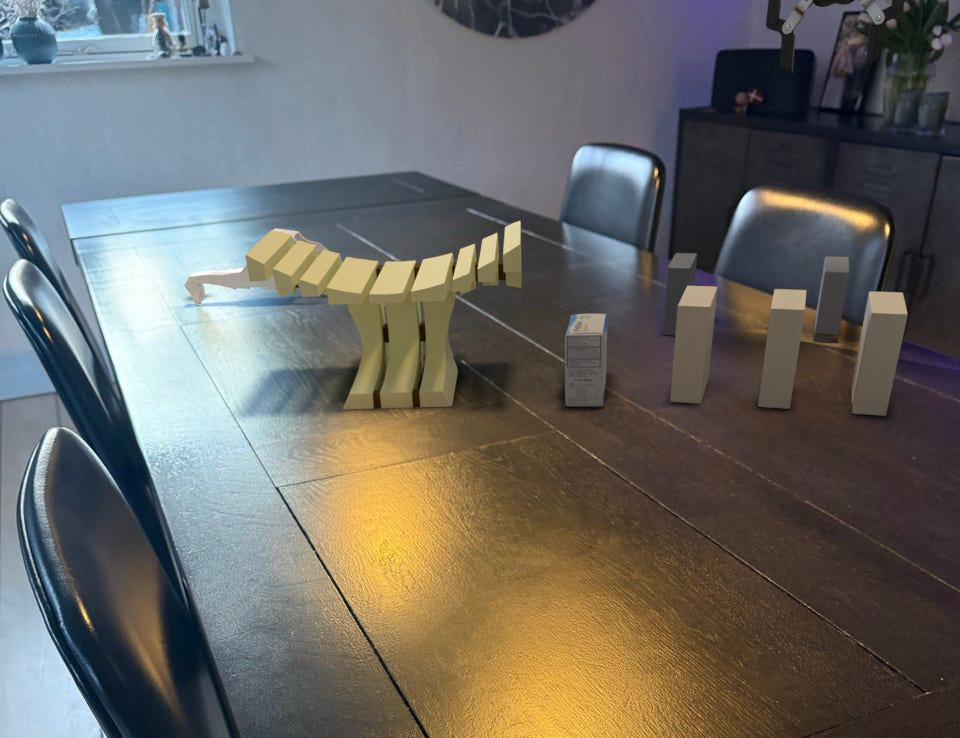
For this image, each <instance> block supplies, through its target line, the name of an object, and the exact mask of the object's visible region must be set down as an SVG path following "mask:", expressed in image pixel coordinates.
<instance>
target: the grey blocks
mask: <svg viewBox="0 0 960 738" xmlns="http://www.w3.org/2000/svg"><path fill="white" fill-rule="evenodd" d="M849 259H850V258H849V256H828V255H827V256H824V261H823V266H822V273H821V279H820V286H819V292H818V299H817V303H816V304H817V306H816V311H815V321H814V333H813V343H825V344H827V343H828V344H838V340H839V338H837V337H831V336H826V335H837V336H838V335H840V329H841V323H842V318H843V312H844V307H845V301H846V294H847V288H848V285H849V284H848V283H849V279H850V260H849ZM697 260H698V253H695V252H694V253H691V252H689V253H688V252H687V253H686V252H676V253H674V256H673V257H672V259H671V261H670V263H669V264H668V266H667V269H666V281H665V296H664V312H663V313H664V314H663V327H662V335H663V336H671V337H673V336H674V337H675V336H676V323H677V310H678V304H679V302H680V300H681V298H682V296H683V294H684V292H685V290H686V287H687V286H696V285H695V284H696V272H697Z"/></svg>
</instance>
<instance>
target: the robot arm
mask: <svg viewBox="0 0 960 738" xmlns="http://www.w3.org/2000/svg"><path fill="white" fill-rule="evenodd" d="M855 1H856V0H798V2H797V4H796V5H795V6H794V8H793V10H792V11H791V13H790V14H789V15H788V17H787V19H783V18H780V16H781V7H782V0H768V2H767V10H766V19H765V27H766V28H767V29H768V30H771V31H774V32H777V33H779V34H780V37H781V42H780V56H779V57H780V58H779V64H780V68H781V69H785V70H784V71H785V74H793V72H794V61H795V50H796V49H795V48H796V47H795V46H796V37H797V36H796V34H795V30H796V29H797V27H798V26H799V25H800V23H801V21H802V20H803V19H804V17H805V16H806V15H807V13H808V12H809V11H810V9H811V7H812V6H813V5H814V6H816V7H819V8H828V7H829V6H832V5H834V4H835V5H841V6H845V5H850V4H851V3H853V2H855ZM858 1H859V3H860V5H861V6H862V7H863V9H864V11H865V12H866V14H867V15H868V17H869V19H870V21H871V26H869V30H868V39H867V40H868V41H867V49H866V55H865V66H864V67H865V68H866V67H867V68H868V67H872V66H873V61H875V60H878V59H879V57H880V55H881V49H882V42H883V41H882V40H883V31H884V27H885V25H886V23H888V22H889V21H891V20H893V19H896V18H898V17H900V16H901V15H902V13H904V9H905V0H891V3H890V6H888V7H886V8H884V9H882V7H881V6H880V4H879V3H878V1H877V0H858Z"/></svg>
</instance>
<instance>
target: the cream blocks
mask: <svg viewBox="0 0 960 738" xmlns="http://www.w3.org/2000/svg"><path fill="white" fill-rule="evenodd" d="M718 287H719V286H712V285H710V286H709V285H695V286H687V287H686V290H685V292H684V294H683V296H682V298H681V300H680V302H679V304H678V310H677V323H676V336H674V337H675V338H674V352H673V364H672V367H673V368H672V376H671V377H672V378H671V389H670V390H671V391H670V403H682V404H683V403H684V404H696V405H697V404H698V405H701V404H702V401H703V398H704V395H705V391H706V388H707V385H708V382H709V377H710V370H711V369H710V368H711V357H712V349H713V338H714V329H715V328H714V327H715V319H716V308H717V307H716V306H717V297H718ZM908 315H909V314H908V310H907V304H906V300H905V296H904V292H903V291H902V292H899V291H897V292H896V291H872V290H871V291H868V296H867V300H866V306H865V311H864V318H863V322H862V327H861V333H860V339H859V343H858V349H857V353H856V358H855V365H854V370H853V374H852V380H851V385H850V391H851V392H850V393H851V396H850V397H851V413H852V414H853V415H865V416H866V415H867V416H881V417H882V416H883V417H887V412H888V407H889V403H890V398H891V394H892V389H893V385H894V380H895V375H896V371H897V367H898V362H899V358H900V352H901V347H902V343H903V338H904V333H905V330H906V324H907V321H908V320H907V319H908Z"/></svg>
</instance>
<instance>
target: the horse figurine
mask: <svg viewBox="0 0 960 738" xmlns="http://www.w3.org/2000/svg"><path fill="white" fill-rule="evenodd" d="M271 231H279V232H282V233H286V234H289V235H291V236H292V238H293V241H294V245H295V244H296V243H297V242H298V240H299V241H303V242H306V243H310V244H313V245H316V246H317V250H318V255H319V254H320V253H321V252H322V251H323V250H327V251H330V250H329V249H328V248H326V247H325V246H324V245H323V244H322V243H320V242H319V241H314V240H313V241H312V240H309V239H307V238H305V237H304V236H303V235H302V233H301V232H300V231H298V230H293V229H284V228H277V227H275V228H274V229H272V230H271ZM343 262H344V261H342V263H343ZM204 285H214V286H218V287H219V286H220V287H224V288H228V289H231V290H236V289H245V290H246V289H248V290H249V289H250V288H260V289H262V290H269V291H273V292H274V291H276V292H278V289H276V284H275V279H274V277H273V275H272V276H271V277H270V278H269V279H268V280H267V281H251V282H250V279H249V274H248V268H247V264H246V265H245V266H243V267H238V268H232V269H225V270H207V271H201V272H200V271H199V272H193V273H191V274H190V275H189V276H188V278H187V280H185V283H184V284H183V286H184V287H185V289H186V291H187V292H188V293H189V295H190V297H191V300H192V301H193V302H194V305H195V306H196V305H197V306H199V305H198V304H201V305H202V301H203V300H204V297H205V292H206V291H205V286H204Z"/></svg>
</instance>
